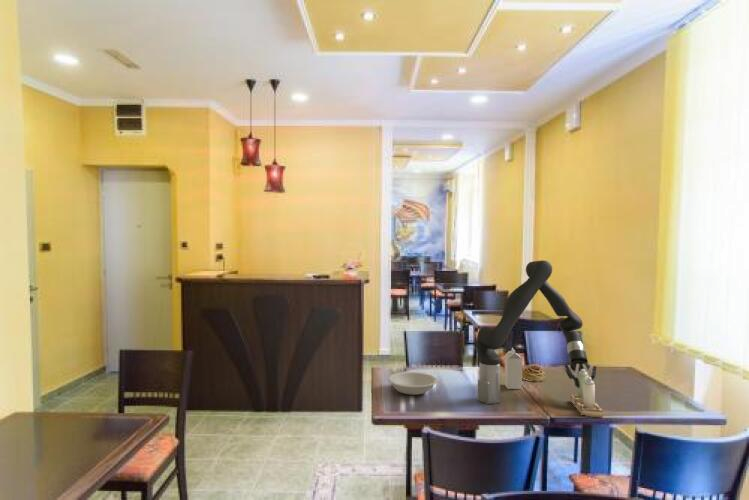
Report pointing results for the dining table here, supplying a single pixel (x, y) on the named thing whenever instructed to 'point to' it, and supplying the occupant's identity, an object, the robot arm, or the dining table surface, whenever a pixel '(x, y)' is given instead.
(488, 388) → the robot arm
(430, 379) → the soup bowl
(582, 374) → the pepper mill
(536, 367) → the pastry
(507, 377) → the milk carton
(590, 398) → the salt mill
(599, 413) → the condiment stand
